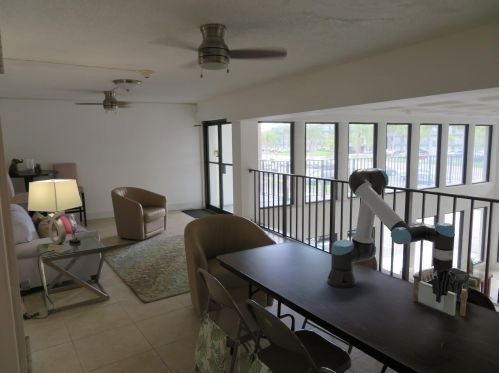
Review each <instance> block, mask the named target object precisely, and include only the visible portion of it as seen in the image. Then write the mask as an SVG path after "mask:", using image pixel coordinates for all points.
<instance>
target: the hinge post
mask: <svg viewBox="0 0 499 373" xmlns="http://www.w3.org/2000/svg"><path fill="white" fill-rule="evenodd" d="M412 278H413V287H412V289H413V290H412V302H415V303H416V302H417V303H418V302H419V301H418V294H419V282H420V279H421V275H418V274H413V275H412Z"/></svg>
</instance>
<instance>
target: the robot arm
mask: <svg viewBox="0 0 499 373" xmlns="http://www.w3.org/2000/svg"><path fill="white" fill-rule="evenodd" d="M348 186H349V189H350V191H351V192H352V193H353V195H354V196H355V197H356V198H360V203H359V204H360V205H359V211H358V217H357V223H356V229H355V234H353V235H352V237H351V240H350V239H339V240H336V241H334V242H333V243H331V250H330V251H331V259H330V260H331V262H330V263H331V267H330V271H329V273H328V276H327V283H328V284H329V285H330V286H333V287H337V288H341V289H343V288H345V289H347V288H353V287H354V286H356V282H357V280H356V277H355V273H354V266H353V265H354V264H355V263H359V262H366V261H369V260H371V259H373V258H374V257H375V256H376V253H377V246H376V244H375V241H374V238H372V234H373V229H374V225H375V224H374V222H375V219H376V218H375V217H377V218H378V219H379V220H380V221H381V222H382V224H383V225H384V226H385V227H386V228H387V229H388V230H389V232H390V238H391V241H392V242H393V243H394V244H396V245H408V244H410V243H417V242H421V241H426V242H430V243H433V257H432V258H433V259H432V265H433V267H434V270H433V271H434V273H433V274H432V273H431V274H430V275H429V277H430V280H431V285H432V289H433V294H436V308H438V309H440V310H439V311H441V310H443V306H444V295H446V296H447V294H446V293H448V290H449V286H450V281H451V277H452V275H453V272H452V271H450V269H451V268H453V257H454V243H455V236H456V233H455V232H456V231H455V225H453V224H451V223H449V222H436V223H435V225H432V224H427V223H424V222H421V221H420V222H418V221H414V222H412V223H411V224H410V225H408V224H407V222H405V221H404V220H403V218H401V217H400V216H399V214H398V213H396V211H395V210H394V209H393V208H392V207H391V206H390V205H389V204H388V203H387V202H386V201H385V199H383V197H381V196H382V193H383V190H384V189H386V188H387V187H388V186H389V176H388V174H387V173H386V171H385V170H384V169H382V168H376V167H373V168H371V167H369V168H358V169H355V170H353V171H352V172H351V174H350V175H349V177H348ZM436 308H435V309H436ZM438 309H437V310H438Z"/></svg>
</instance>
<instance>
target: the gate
mask: <svg viewBox="0 0 499 373" xmlns="http://www.w3.org/2000/svg"><path fill="white" fill-rule="evenodd" d="M446 294H447V296H446V295H444V306H443V310H440V309H438V308H436V294H433V289H432V283H428V282H425V281H423V280H419V293H418V302H420V303H422V304H425V305H427V306H428V307H429V306H430V307H432V308H434V309H437V310H439V311H441V312H444V313H445V314H448V315H450V316H455V315H456V307H457V305H456V304H457V302H456V296H457V294H455V293H453V292H450V291H448V293H446Z"/></svg>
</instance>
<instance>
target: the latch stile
mask: <svg viewBox="0 0 499 373" xmlns="http://www.w3.org/2000/svg"><path fill="white" fill-rule="evenodd" d="M467 300H468V298H467V290H466V289H462V292H461V302H460V308H459V316H461V317H465V316H466V312H467Z"/></svg>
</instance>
